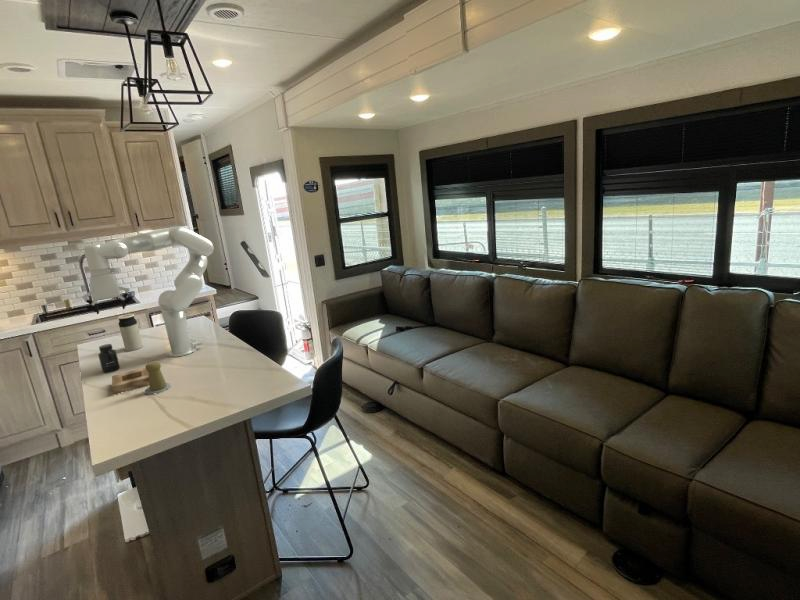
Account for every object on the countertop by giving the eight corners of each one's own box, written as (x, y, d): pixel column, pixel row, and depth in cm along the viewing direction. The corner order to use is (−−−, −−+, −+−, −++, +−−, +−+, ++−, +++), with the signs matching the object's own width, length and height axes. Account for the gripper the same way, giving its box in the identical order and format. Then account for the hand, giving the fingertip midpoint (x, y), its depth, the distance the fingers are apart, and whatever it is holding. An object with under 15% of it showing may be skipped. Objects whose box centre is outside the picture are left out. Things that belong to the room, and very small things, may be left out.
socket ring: (151, 373, 187) (149, 366, 187) (153, 384, 176) (151, 376, 175) (114, 383, 180) (112, 376, 179) (114, 395, 169) (111, 387, 168)
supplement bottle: (111, 373, 192) (104, 348, 189) (99, 373, 194) (92, 348, 191) (123, 367, 199) (117, 343, 196) (111, 367, 200) (105, 343, 197)
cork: (149, 392, 167) (142, 366, 164) (150, 386, 172) (144, 361, 169) (166, 388, 169) (160, 363, 166) (167, 383, 174) (161, 358, 172)
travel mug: (146, 346, 225) (137, 314, 221) (130, 352, 219) (121, 318, 214) (138, 345, 230) (130, 313, 225) (122, 350, 223) (113, 317, 219)
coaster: (169, 382, 177) (168, 380, 177) (171, 389, 169) (171, 388, 169) (144, 388, 172) (144, 387, 172) (145, 396, 165) (145, 395, 165)
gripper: (124, 268, 190) (133, 305, 195) (77, 275, 181) (87, 313, 186) (124, 270, 184) (134, 308, 189) (75, 277, 175) (86, 317, 180)
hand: (111, 310), depth 187 cm, fingers open, 9 cm apart
